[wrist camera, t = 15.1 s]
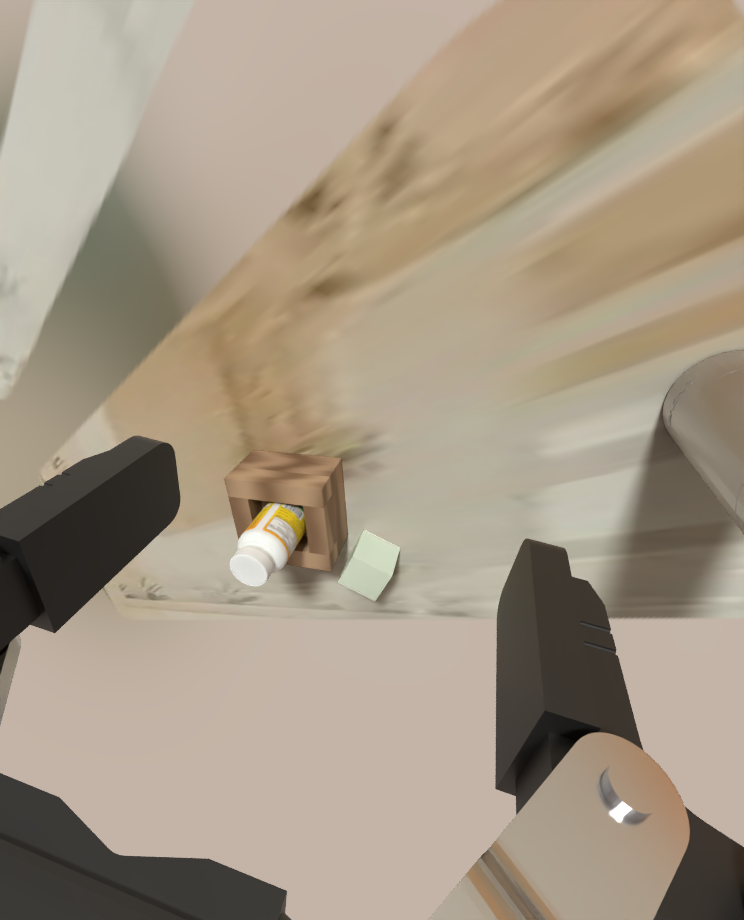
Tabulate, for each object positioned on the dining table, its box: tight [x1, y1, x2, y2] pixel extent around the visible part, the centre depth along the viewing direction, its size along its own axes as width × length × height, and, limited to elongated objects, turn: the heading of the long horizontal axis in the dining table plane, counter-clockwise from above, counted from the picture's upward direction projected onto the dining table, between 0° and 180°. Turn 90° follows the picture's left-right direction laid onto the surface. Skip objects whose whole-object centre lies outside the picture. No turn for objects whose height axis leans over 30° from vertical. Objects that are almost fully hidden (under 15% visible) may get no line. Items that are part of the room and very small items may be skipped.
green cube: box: [338, 530, 400, 601], centre depth 53 cm, size 5×5×5 cm
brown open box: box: [224, 450, 348, 571], centre depth 50 cm, size 11×11×6 cm
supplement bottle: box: [230, 502, 306, 587], centre depth 46 cm, size 5×5×10 cm
